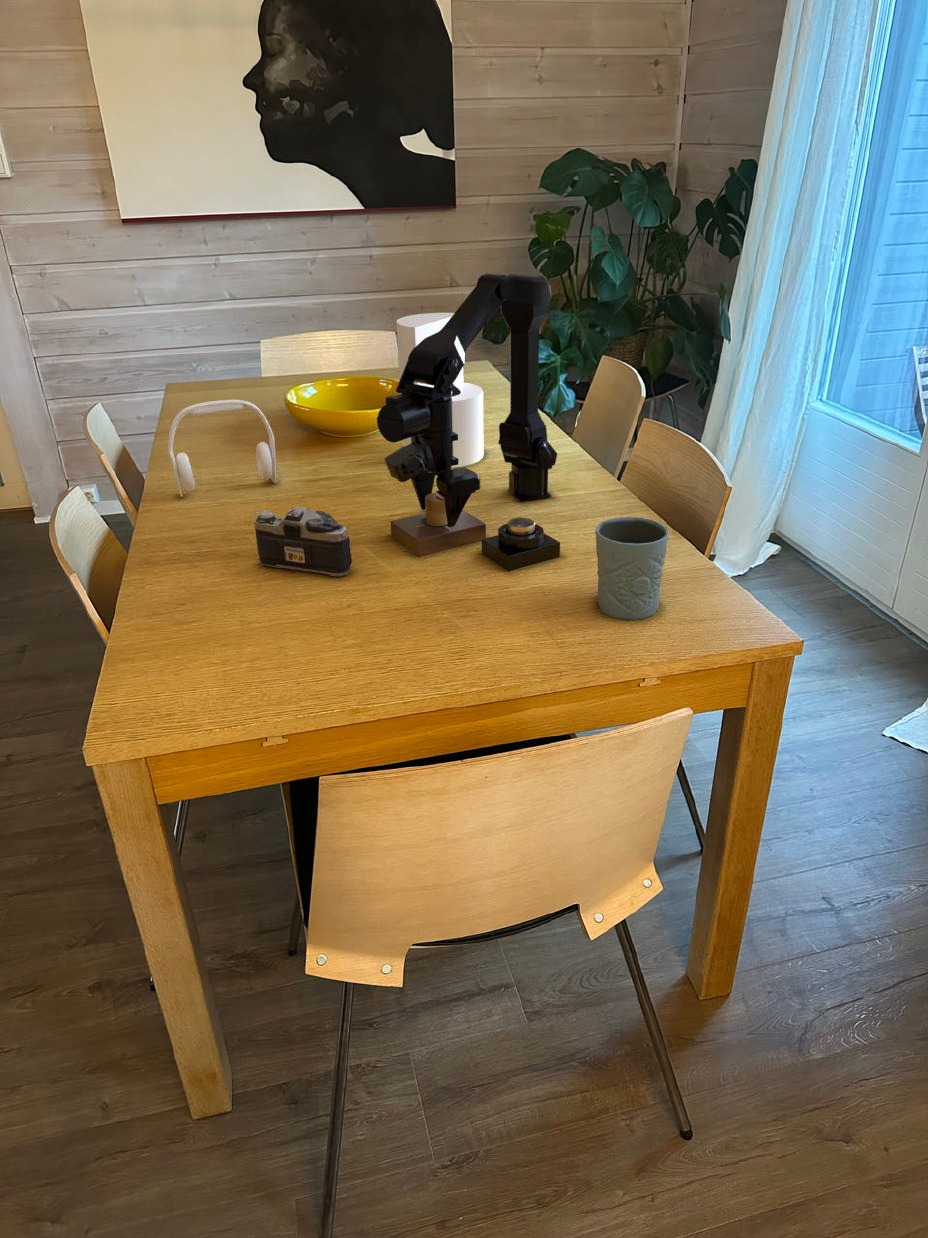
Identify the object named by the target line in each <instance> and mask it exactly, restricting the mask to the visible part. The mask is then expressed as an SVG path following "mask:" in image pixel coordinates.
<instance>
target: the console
mask: <svg viewBox="0 0 928 1238" xmlns="http://www.w3.org/2000/svg"><path fill="white" fill-rule="evenodd" d="M389 524H390V536H391V538H392V539H394V540H395V541H396V542H397V543H399V544H400V545H402V546H403V547H404V548H405V549H407V550H408V551H410V552H411V553H413V554H414V555H415V556H417V557H418V558H420V557H424V556H428V555H433V554H436V553H440V552H443V551H448V550H452V549H455V548H460V547H464V546H467V545H471V544H476V543H479V542H482V539H485V538H487V524H486V523H485V522H483V521H482V520H481V519H478V518H477V517H475V516H474V515H472V514H470V513H469V512H467V511H465V510H464V509H463V510H462V512H461V514H460V516H459V518H458V520H457V522H456V524H455V526H453V527H449V526H448V524H447V525H444V526H431V525H428V524H427V523H426V512H423V513H419V514H414V515H411V516H406V517H401V518H397V519H393V520H390V523H389Z"/></svg>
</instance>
